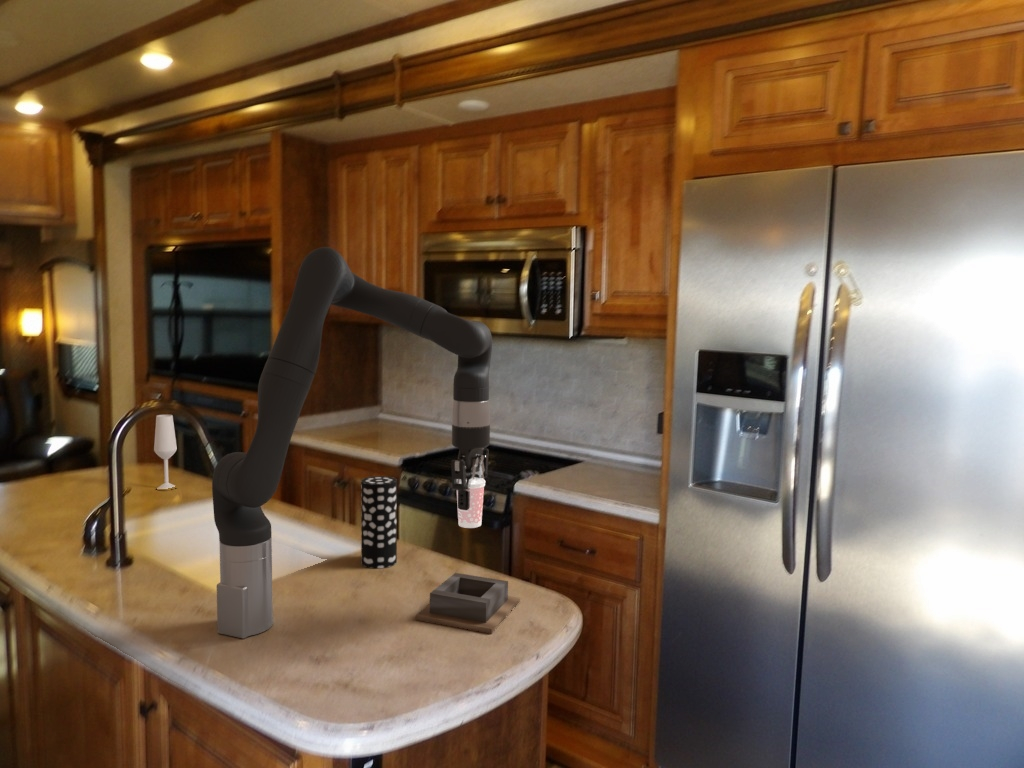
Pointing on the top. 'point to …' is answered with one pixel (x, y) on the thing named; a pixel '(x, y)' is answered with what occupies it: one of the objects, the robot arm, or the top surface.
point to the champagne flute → (165, 443)
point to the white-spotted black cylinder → (378, 522)
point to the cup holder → (469, 603)
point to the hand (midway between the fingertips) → (470, 504)
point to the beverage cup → (473, 505)
